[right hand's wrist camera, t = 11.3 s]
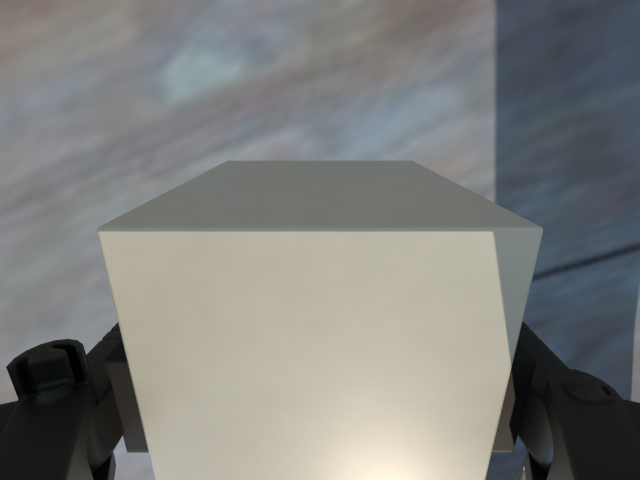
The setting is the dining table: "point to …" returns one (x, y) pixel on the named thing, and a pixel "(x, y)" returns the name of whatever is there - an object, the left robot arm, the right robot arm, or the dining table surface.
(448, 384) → the block
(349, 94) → the dining table surface
